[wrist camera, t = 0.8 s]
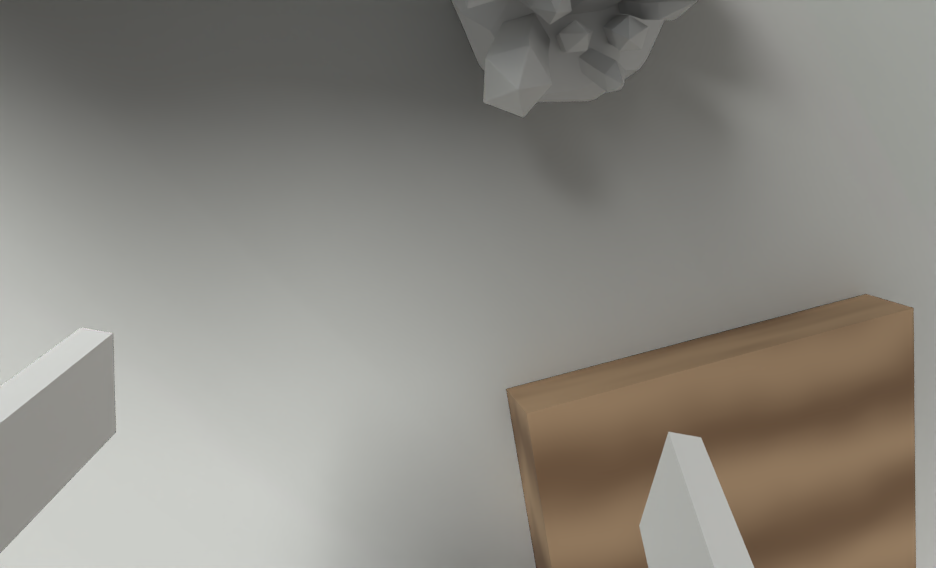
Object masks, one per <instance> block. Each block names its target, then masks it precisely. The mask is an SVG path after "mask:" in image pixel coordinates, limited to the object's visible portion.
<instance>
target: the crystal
mask: <svg viewBox="0 0 936 568" xmlns="http://www.w3.org/2000/svg"><path fill="white" fill-rule="evenodd" d="M451 1H452V3H453V6H454V8H455V10H456V12H457V14H458V16H459V19H460V21H461V24H462V26H463V28H464V31H465V33H466V35H467V38H468V40H469V43H470V45H471V47H472V50H473V52H474V55H475V57H476V59H477V62H478V64H479V65H480V67H481V68H482V69H483V70H484V71H485V74H484V94H483V102H484V103H486V104H489V105H491V106H494V107H496V108H499V109H502V110H504V111H507V112H510V113H512V114H515V115H517V116H520V117H525V116H526V115H527V113H528V112H529V111H530V110H531V109H532V108H533V106H534V105H535V104H536V103H537V102H579V101H593V100H595V99H597V98H598V97H600V96H601V95H603V94H604V93H606V92H613V91H618V90H621V88H622V87H623V86H624V84H625V79H626V78H628V77H629V76H631V75H632V74H633V73H635V72H636V71H638V70H639V69H640V68H641V66H642V65H643V64H644V63H645V61H646V60H647V58H648V56H649V54H650V51H651V49H652V47H653V45H654V43H655V40H656V38H657V36H658V34H659V32H660V30H661V27H662V25H663V23H664V21H665V20H676V19H677V18H678V17H679V16H681V15H682V14H683V13H684V12H685V11H687V10H688V9H689V8H690V7H692V6H693V5H694V4H695V3H696V2H698V0H451Z"/></svg>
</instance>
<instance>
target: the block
mask: <svg viewBox="0 0 936 568" xmlns="http://www.w3.org/2000/svg"><path fill="white" fill-rule="evenodd" d="M506 391H507V397H508V402H509V408H510V414H511V420H512V426H513V432H514V438H515V444H516V450H517V456H518V462H519V468H520V474H521V480H522V486H523V492H524V498H525V504H526V510H527V516H528V522H529V527H530V533H531V539H532V545H533V551H534V557H535V563H536V568H648V564H647V559H646V555H645V550H644V546H643V541H642V536H641V532H640V527H639V525H640V521H641V518H642V515H643V512H644V509H645V505H646V502H647V499H648V496H649V493H650V489H651V486H652V483H653V480H654V476H655V473H656V470H657V467H658V464H659V460H660V457H661V454H662V451H663V447H664V444H665V441H666V438H667V435H668V432H673V433H679V434H685V435H690V436H696V437H701V438H702V441H703V443H704V446H705V448H706V451H707V453H708V456H709V458H710V460H711V463H712V465H713V468H714V470H715V473H716V475H717V478H718V480H719V483H720V485H721V487H722V490H723V492H724V495H725V497H726V500H727V502H728V505H729V507H730V509H731V512H732V514H733V517H734V519H735V522H736V524H737V527H738V529H739V531H740V534H741V536H742V539H743V541H744V544H745V546H746V549H747V551H748V553H749V556H750V558H751V561H752V563H753V566H754V568H916V538H915V427H914V316H913V308H912V307H908V306H905V305H902V304H898V303H895V302H891V301H888V300H884V299H881V298H878V297H874V296H871V295H867V294H864V295H861V296H857V297H853V298H849V299H845V300H842V301H838V302H834V303H830V304H826V305H823V306H819V307H815V308H811V309H808V310H804V311H800V312H796V313H792V314H789V315H785V316H781V317H777V318H773V319H770V320H766V321H762V322H758V323H755V324H751V325H747V326H743V327H739V328H736V329H732V330H728V331H724V332H720V333H717V334H713V335H709V336H705V337H701V338H698V339H694V340H690V341H686V342H683V343H679V344H675V345H671V346H667V347H664V348H660V349H656V350H652V351H648V352H645V353H641V354H637V355H633V356H630V357H626V358H622V359H618V360H614V361H611V362H607V363H603V364H599V365H595V366H592V367H588V368H584V369H580V370H577V371H573V372H569V373H565V374H561V375H558V376H554V377H550V378H546V379H542V380H539V381H535V382H531V383H527V384H524V385H520V386H516V387H512V388H508V389H506Z"/></svg>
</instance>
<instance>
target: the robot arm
mask: <svg viewBox="0 0 936 568" xmlns="http://www.w3.org/2000/svg"><path fill="white" fill-rule="evenodd" d="M115 433H116V416H115V381H114V346H113V333H110V332H105V331H99V330H93V329H88V328H82V327H81V328H79V329H78V330H77V331H75V332H74V333H72V334H71V335H70V336H68V337H67V338H66V339H64V340H63V341H61V342H60V343H59V344H57V345H56V346H55V347H53V348H52V349H50V350H49V351H48V352H46V353H45V354H44V355H42V356H41V357H39V358H38V359H37V360H35V361H34V362H33V363H31V364H30V365H28V366H27V367H26V368H24V369H23V370H22V371H20V372H19V373H17V374H16V375H15V376H13V377H12V378H11V379H9V380H8V381H6V382H5V383H4V384H2V385H1V386H0V553H1V552H2V551H3V550H4V549H5V548H6V547H7V546H8V545H9V544H10V543H11V541H12V540H13V539H14V538H15V537H16V536H17V535H18V534H19V533H20V532H21V531H22V530H23V529H24V528H25V527H26V526H27V525H28V524H29V523H30V522H31V521H32V519H33V518H34V517H35V516H36V515H37V514H38V513H39V512H40V511H41V510H42V509H43V508H44V507H45V506H46V505H47V504H48V503H49V502H50V501H51V500H52V499H53V498H54V496H55V495H56V494H57V493H58V492H59V491H60V490H61V489H62V488H63V487H64V486H65V485H66V484H67V483H68V482H69V481H70V480H71V479H72V478H73V477H74V476H75V474H76V473H77V472H78V471H79V470H80V469H81V468H82V467H83V466H84V465H85V464H86V463H87V462H88V461H89V460H90V459H91V458H92V457H93V456H94V455H95V454H96V453H97V451H98V450H99V449H100V448H101V447H102V446H103V445H104V444H105V443H106V442H107V441H108V440H109V439H110V438H111V437H112V436H113V435H114V434H115ZM639 527H640V532H641V536H642V541H643V546H644V550H645V555H646V559H647V564H648V568H754V566H753V563H752V561H751V558H750V556H749V553H748V551H747V549H746V546H745V544H744V541H743V539H742V536H741V534H740V531H739V529H738V527H737V524H736V522H735V519H734V517H733V514H732V512H731V509H730V507H729V505H728V502H727V500H726V497H725V495H724V492H723V490H722V487H721V485H720V483H719V480H718V478H717V475H716V473H715V470H714V468H713V465H712V463H711V460H710V458H709V456H708V453H707V451H706V448H705V446H704V443H703V441H702V438H701V437H696V436H690V435H685V434H679V433H673V432H668V435H667V438H666V441H665V444H664V447H663V451H662V454H661V457H660V460H659V464H658V467H657V470H656V473H655V476H654V480H653V483H652V486H651V489H650V493H649V496H648V499H647V502H646V505H645V509H644V512H643V515H642V518H641V521H640V525H639Z"/></svg>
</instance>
